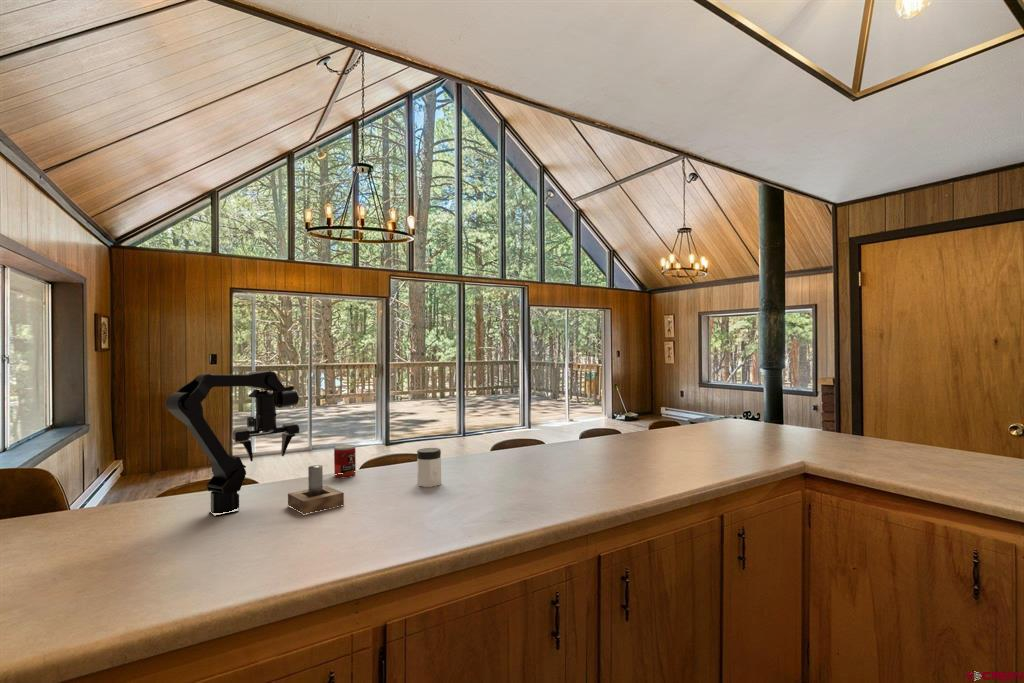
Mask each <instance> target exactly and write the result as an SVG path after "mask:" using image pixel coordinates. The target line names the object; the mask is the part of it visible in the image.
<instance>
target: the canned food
mask: <svg viewBox="0 0 1024 683" xmlns="http://www.w3.org/2000/svg"><path fill="white" fill-rule="evenodd" d="M333 450H334V451H333V452H334V453H333V457H334V458H333V460H334V462H333V464H334V466H333V467H334V469H333V470H334V476H336V478H338V479H342V478H341V477H347V478H351V477H350V476H352V477H355V475H356V472H354V471H356V470H357V468H356V466H357V465H356V460H357V459H356V456H357V455H356V454H357V453H356V445H355V444H340V445H336V446H334V448H333ZM338 473H343V474H338ZM335 474H337V475H335ZM354 474H355V475H354Z"/></svg>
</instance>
